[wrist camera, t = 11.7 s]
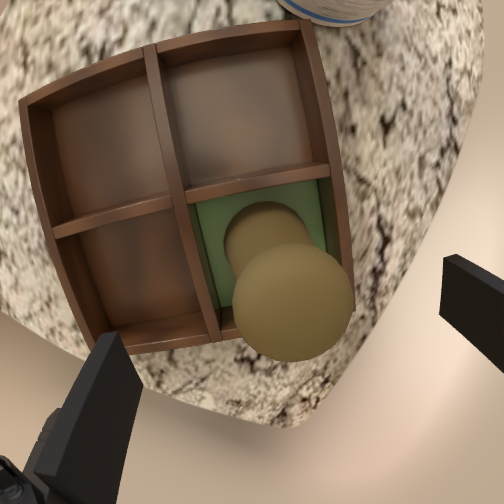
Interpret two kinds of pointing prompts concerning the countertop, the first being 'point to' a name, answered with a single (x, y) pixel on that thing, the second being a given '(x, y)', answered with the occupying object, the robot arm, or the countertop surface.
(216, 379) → the countertop surface
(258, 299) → the cork
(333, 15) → the supplement tub
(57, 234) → the grid
